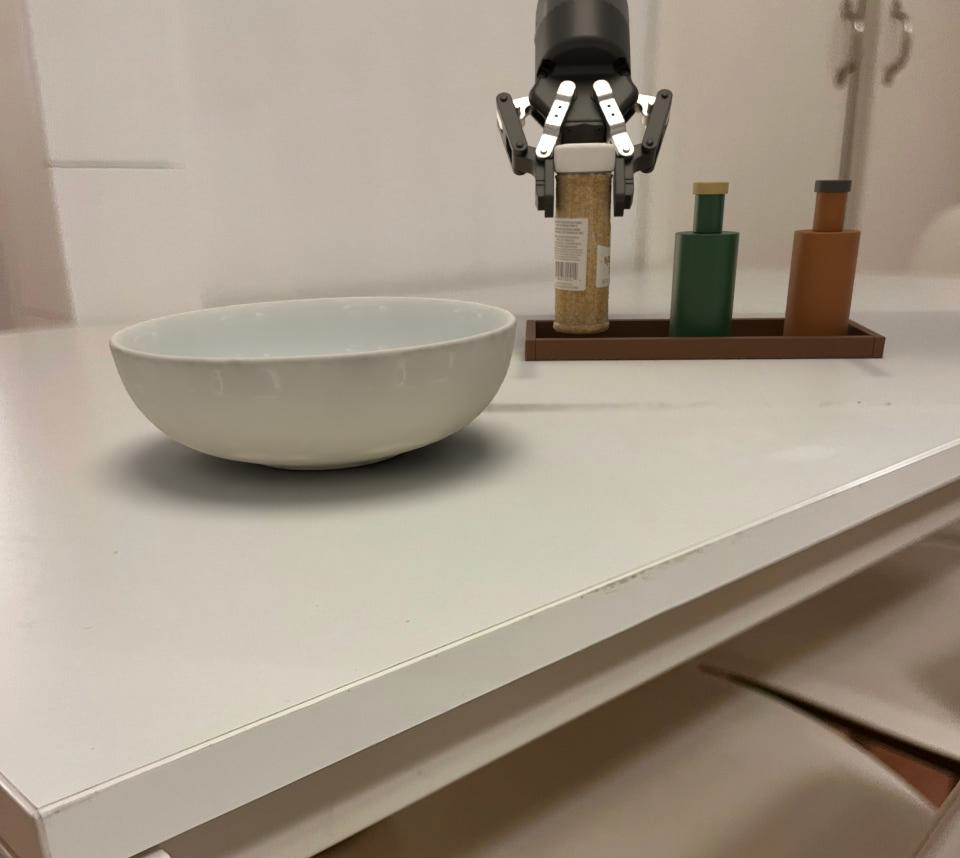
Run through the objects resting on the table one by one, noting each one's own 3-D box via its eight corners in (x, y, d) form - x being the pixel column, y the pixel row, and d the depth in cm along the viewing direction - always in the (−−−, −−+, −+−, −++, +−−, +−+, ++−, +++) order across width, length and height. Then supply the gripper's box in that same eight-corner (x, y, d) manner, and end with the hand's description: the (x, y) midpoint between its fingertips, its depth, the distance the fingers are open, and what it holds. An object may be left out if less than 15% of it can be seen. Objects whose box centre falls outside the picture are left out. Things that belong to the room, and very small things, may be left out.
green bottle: (724, 342, 82) (737, 181, 77) (734, 352, 78) (749, 182, 73) (664, 342, 83) (674, 182, 78) (672, 352, 78) (682, 183, 73)
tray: (842, 342, 85) (846, 316, 84) (881, 366, 75) (886, 336, 74) (526, 345, 86) (526, 319, 85) (524, 368, 77) (525, 339, 76)
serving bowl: (230, 403, 67) (217, 294, 64) (542, 412, 63) (543, 296, 60) (48, 496, 49) (17, 349, 46) (472, 517, 45) (469, 358, 42)
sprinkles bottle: (620, 332, 79) (627, 142, 74) (569, 337, 78) (573, 143, 72) (590, 324, 83) (595, 143, 77) (541, 329, 82) (543, 144, 76)
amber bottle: (835, 341, 82) (857, 179, 77) (852, 351, 78) (876, 180, 72) (776, 341, 82) (793, 180, 77) (789, 351, 78) (808, 181, 73)
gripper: (490, -4, 77) (486, 172, 72) (678, -9, 77) (689, 168, 71) (494, 80, 84) (490, 246, 79) (666, 76, 84) (674, 243, 78)
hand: (584, 208), depth 75 cm, fingers closed on sprinkles bottle, 4 cm apart
